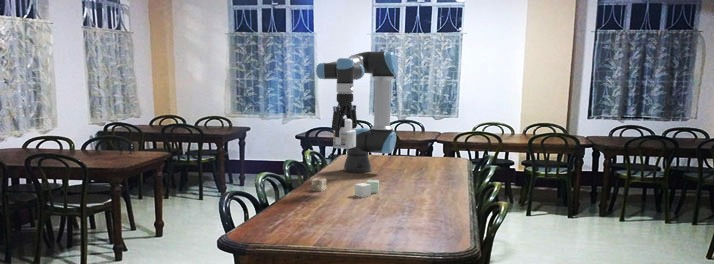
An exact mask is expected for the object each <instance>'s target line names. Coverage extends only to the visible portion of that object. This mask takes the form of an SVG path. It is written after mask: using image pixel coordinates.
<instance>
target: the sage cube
mask: <svg viewBox="0 0 714 264" xmlns="http://www.w3.org/2000/svg"><path fill="white" fill-rule="evenodd" d="M366 184H370V185H371V194H379V191H380V180H379V179H367V181H366Z"/></svg>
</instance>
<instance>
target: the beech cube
mask: <svg viewBox="0 0 714 264" xmlns="http://www.w3.org/2000/svg"><path fill="white" fill-rule="evenodd" d="M325 189H326V190H327V178H322V177H315V178H312V179H311V191H312V190H313V191H314V192H321V191H322V192H324V191H325ZM323 190H324V191H323Z"/></svg>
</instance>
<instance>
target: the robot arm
mask: <svg viewBox="0 0 714 264" xmlns="http://www.w3.org/2000/svg"><path fill="white" fill-rule="evenodd" d="M315 71H316V72H315V73H316V76H317V78H318V79H320V80H321V79H322V80H336V102H337V105H336V106H333V107H332V110H333V111H332V112H333V113H332V120H331V129H332V130H333V131H335V137H336V143H335V144H338V145H341V130H340V128H341V124H342V121H343V119H344V118H346V119H351V120H352V129H351V130H356V147H353V148H349V149H346V151H347V152H346V153H347V154H346V159H345V162H344V165H343V171H344V172H348V173H359V174H360V173H370V172H371V171H372V165H371V161H370V158H369V153H373V154H391V153H393V151H394V150H395V147H396V142H397V133H396V132H395V131H394V130H393V129H394V128H393V127H392V126H391V99H392V96H391V94H392V90H391V89H392V80H393V79H394V77H395V75H396V74H398V71H399V62H398V58H397V55H396V54H395V52H393V51H385V50H384V51H363V52H359V53H356V54H353V55H352V54H351V55H350V56H349V57H347V58H345V57H344V58H343V57H342V58H337V60H335V61H332V62H322V63H321V62H320V63H319V62H318V64H317V65H316V69H315ZM365 74H371V77H372V79H374V103H373V104H374V109H373V113H374V115H373V125H372V126H371V128H370V129H369V128H368V127H362V128H360V127H359V128H357V127H358V119H357V111H356V110H357V105H355V104H352V102H354V81H355V80H357V81H358V80H360V79H362V78H363V77H364V75H365ZM345 116H346V117H345Z"/></svg>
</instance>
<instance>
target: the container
mask: <svg viewBox="0 0 714 264" xmlns="http://www.w3.org/2000/svg"><path fill="white" fill-rule="evenodd" d="M351 129H352V120H351V119H347V118H343V121H342V124H341V128H340V130H341V145H338V144H335V143H336V137H335V130H333V134H332V135H333V137H332V139H333V140H332V144H333V145H332V147H333V148H334V149H345V150H347V149H349V148H353V147H356V130H351Z"/></svg>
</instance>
